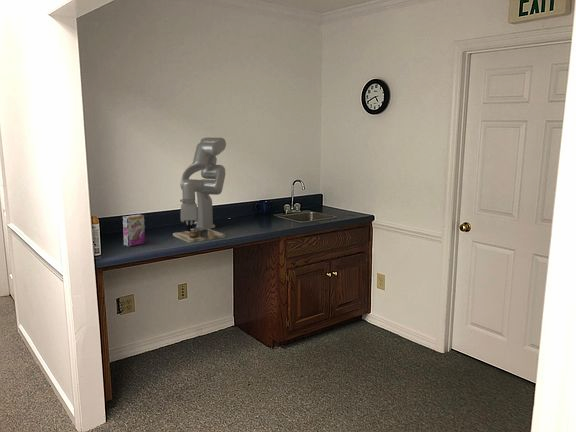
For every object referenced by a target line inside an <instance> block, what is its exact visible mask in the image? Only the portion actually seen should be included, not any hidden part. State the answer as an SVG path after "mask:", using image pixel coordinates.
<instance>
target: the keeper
mask: <svg viewBox="0 0 576 432" xmlns="http://www.w3.org/2000/svg"><path fill="white" fill-rule="evenodd" d="M195 228H196V227H195ZM196 231H199V232H201V238H206V237H208V230H207V229H204V228H201V227H199V228H196Z"/></svg>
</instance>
